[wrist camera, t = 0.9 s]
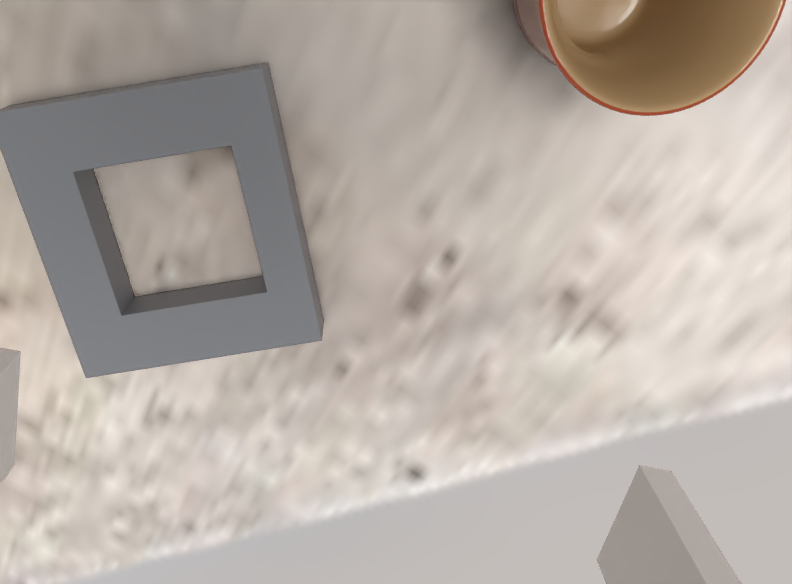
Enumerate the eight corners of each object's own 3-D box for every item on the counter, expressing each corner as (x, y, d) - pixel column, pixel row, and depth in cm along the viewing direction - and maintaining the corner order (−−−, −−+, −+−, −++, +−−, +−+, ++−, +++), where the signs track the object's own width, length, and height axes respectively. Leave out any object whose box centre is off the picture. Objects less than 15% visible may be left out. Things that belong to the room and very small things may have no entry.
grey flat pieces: (-176, 136, 36) (-212, 146, 34) (267, 62, 35) (261, 67, 33) (-62, 382, 41) (-85, 405, 39) (323, 321, 41) (321, 340, 39)
